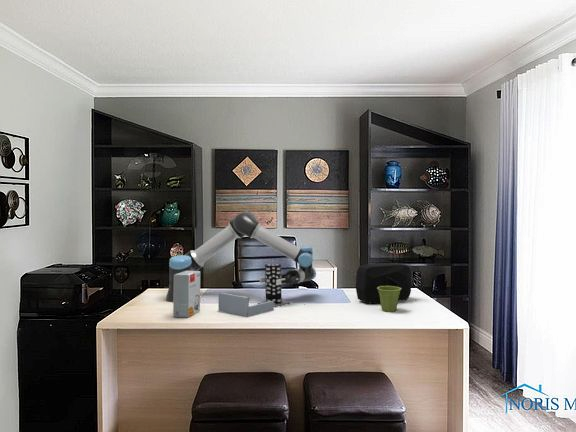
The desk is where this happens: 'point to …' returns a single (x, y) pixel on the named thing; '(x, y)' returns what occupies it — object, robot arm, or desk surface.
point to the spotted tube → (273, 283)
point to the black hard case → (382, 280)
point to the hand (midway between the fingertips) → (268, 281)
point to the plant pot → (389, 297)
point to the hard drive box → (186, 294)
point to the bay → (242, 305)
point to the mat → (277, 304)
